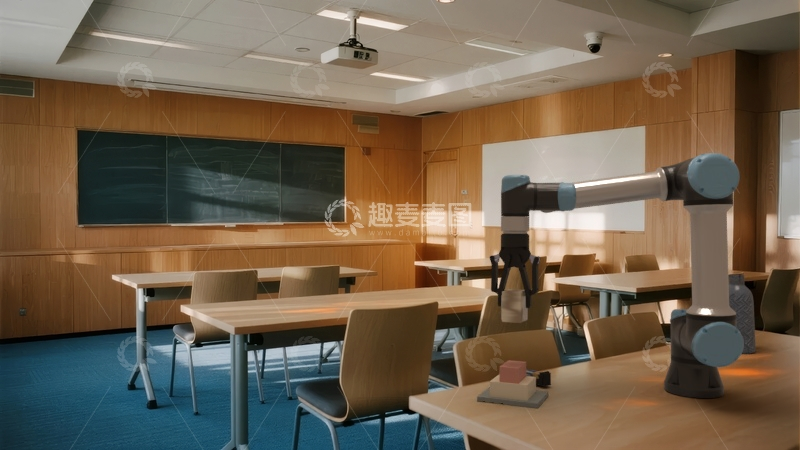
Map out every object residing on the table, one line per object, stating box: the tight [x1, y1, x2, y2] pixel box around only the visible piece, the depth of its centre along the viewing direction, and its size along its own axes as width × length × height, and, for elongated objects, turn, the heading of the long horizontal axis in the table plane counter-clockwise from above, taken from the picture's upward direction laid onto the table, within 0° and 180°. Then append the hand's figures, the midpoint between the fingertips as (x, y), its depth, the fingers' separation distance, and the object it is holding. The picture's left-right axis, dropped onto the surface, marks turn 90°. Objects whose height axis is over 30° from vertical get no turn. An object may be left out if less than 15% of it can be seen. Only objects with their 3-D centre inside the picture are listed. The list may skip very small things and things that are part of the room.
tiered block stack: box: [476, 359, 549, 409], centre depth 170 cm, size 16×13×9 cm
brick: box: [501, 288, 525, 324], centre depth 170 cm, size 5×7×8 cm
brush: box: [526, 368, 552, 387], centre depth 187 cm, size 6×4×15 cm
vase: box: [728, 274, 757, 355], centre depth 235 cm, size 12×12×28 cm
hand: (514, 319), depth 170 cm, fingers closed on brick, 5 cm apart
